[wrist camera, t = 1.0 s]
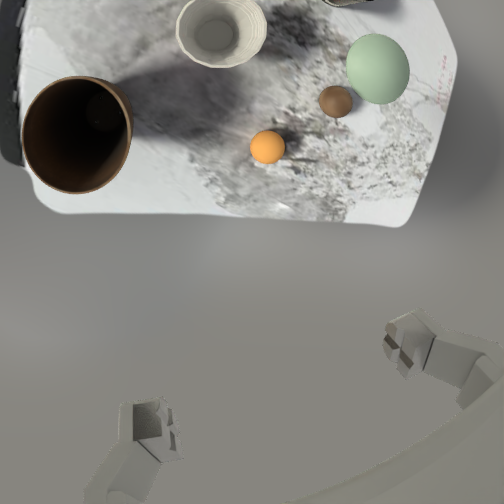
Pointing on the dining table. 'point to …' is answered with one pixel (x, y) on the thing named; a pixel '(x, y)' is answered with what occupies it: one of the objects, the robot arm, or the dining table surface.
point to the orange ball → (267, 147)
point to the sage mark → (377, 69)
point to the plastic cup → (221, 31)
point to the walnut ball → (335, 101)
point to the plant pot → (77, 134)
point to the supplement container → (343, 2)
